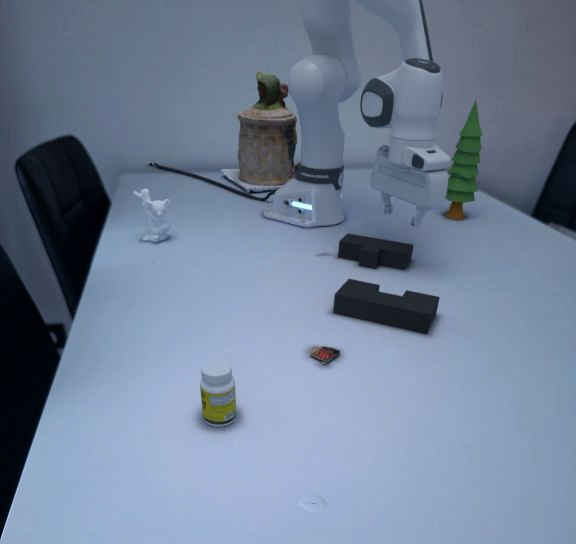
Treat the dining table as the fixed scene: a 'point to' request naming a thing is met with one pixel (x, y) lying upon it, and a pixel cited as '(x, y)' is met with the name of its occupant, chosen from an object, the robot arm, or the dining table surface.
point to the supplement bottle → (218, 393)
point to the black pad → (375, 251)
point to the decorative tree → (464, 167)
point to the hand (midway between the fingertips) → (401, 219)
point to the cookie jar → (266, 139)
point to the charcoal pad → (386, 306)
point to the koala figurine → (155, 216)
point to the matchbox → (324, 353)
